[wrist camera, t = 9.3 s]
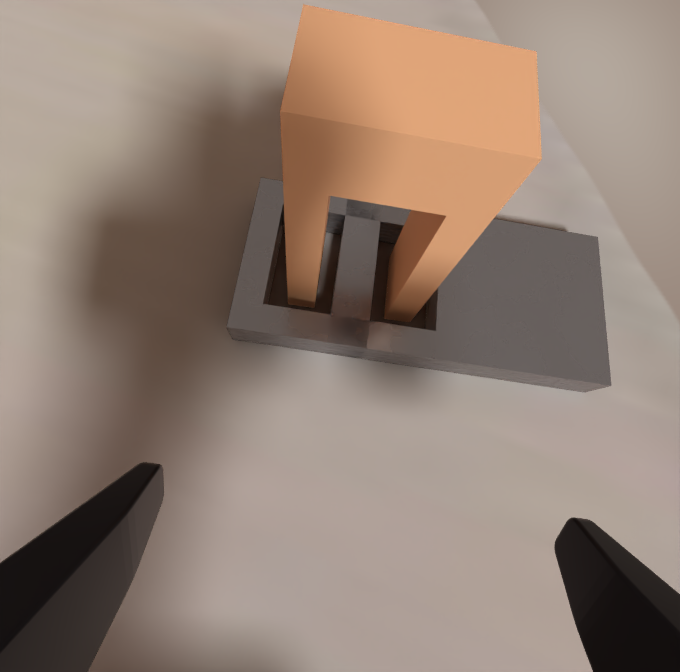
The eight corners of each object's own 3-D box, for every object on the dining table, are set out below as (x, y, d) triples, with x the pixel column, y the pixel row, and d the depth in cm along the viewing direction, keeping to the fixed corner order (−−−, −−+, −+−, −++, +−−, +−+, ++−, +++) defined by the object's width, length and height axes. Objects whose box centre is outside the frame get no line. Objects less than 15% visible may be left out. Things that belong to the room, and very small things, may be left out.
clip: (413, 261, 24) (536, 51, 12) (409, 322, 23) (541, 159, 11) (298, 242, 24) (303, 4, 12) (288, 304, 23) (280, 110, 10)
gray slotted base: (575, 253, 26) (597, 237, 24) (585, 392, 23) (611, 385, 21) (263, 199, 24) (260, 177, 23) (232, 338, 22) (226, 327, 20)
